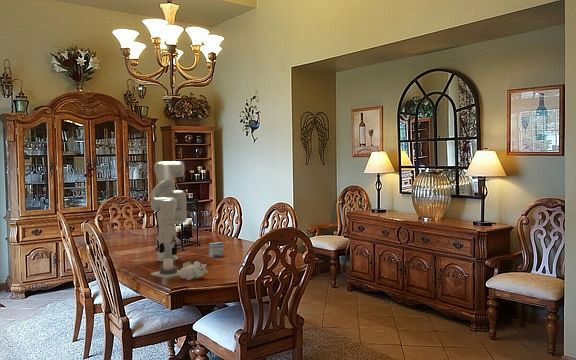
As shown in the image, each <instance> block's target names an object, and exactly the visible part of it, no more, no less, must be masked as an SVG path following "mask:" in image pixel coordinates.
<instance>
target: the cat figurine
mask: <svg viewBox="0 0 576 360" xmlns="http://www.w3.org/2000/svg"><path fill="white" fill-rule="evenodd" d="M182 266H183V267H182V268H180V271H179V275H178V276H179V277H180V278H181V279H184V280H186V281H187V282H188V281H191V280H193V279H199V278H201V277H203V276H204V274H208V273H209V271H208V269H206V268H207V264H202V263H201V262H199V261H194V262H193V261H186V262H184V263H183V264H182Z"/></svg>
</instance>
